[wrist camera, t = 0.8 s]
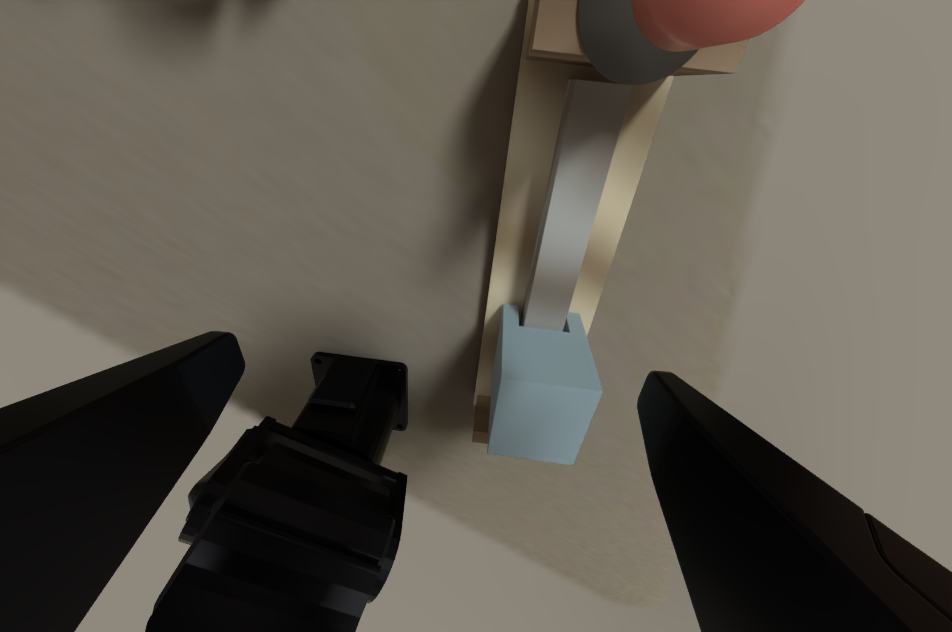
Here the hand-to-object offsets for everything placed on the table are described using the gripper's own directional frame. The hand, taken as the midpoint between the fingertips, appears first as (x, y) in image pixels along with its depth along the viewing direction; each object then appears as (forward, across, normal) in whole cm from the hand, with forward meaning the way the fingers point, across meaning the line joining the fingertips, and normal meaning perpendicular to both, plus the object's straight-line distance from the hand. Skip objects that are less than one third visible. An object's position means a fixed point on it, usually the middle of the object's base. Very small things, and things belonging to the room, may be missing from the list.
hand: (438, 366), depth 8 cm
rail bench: (+12, -4, +2) cm, 13 cm away
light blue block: (+11, -4, +7) cm, 14 cm away
